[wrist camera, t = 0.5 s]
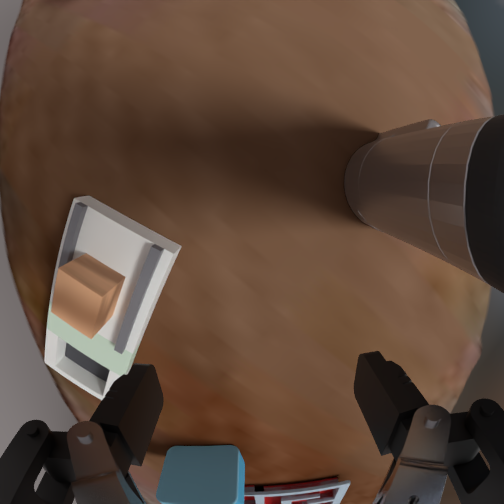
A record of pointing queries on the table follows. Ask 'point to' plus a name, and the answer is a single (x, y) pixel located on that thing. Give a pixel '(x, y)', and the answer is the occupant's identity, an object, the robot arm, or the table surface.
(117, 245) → the tray
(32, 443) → the robot arm
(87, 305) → the terracotta cube
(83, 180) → the table surface
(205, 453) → the blue square slab
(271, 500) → the maze game
